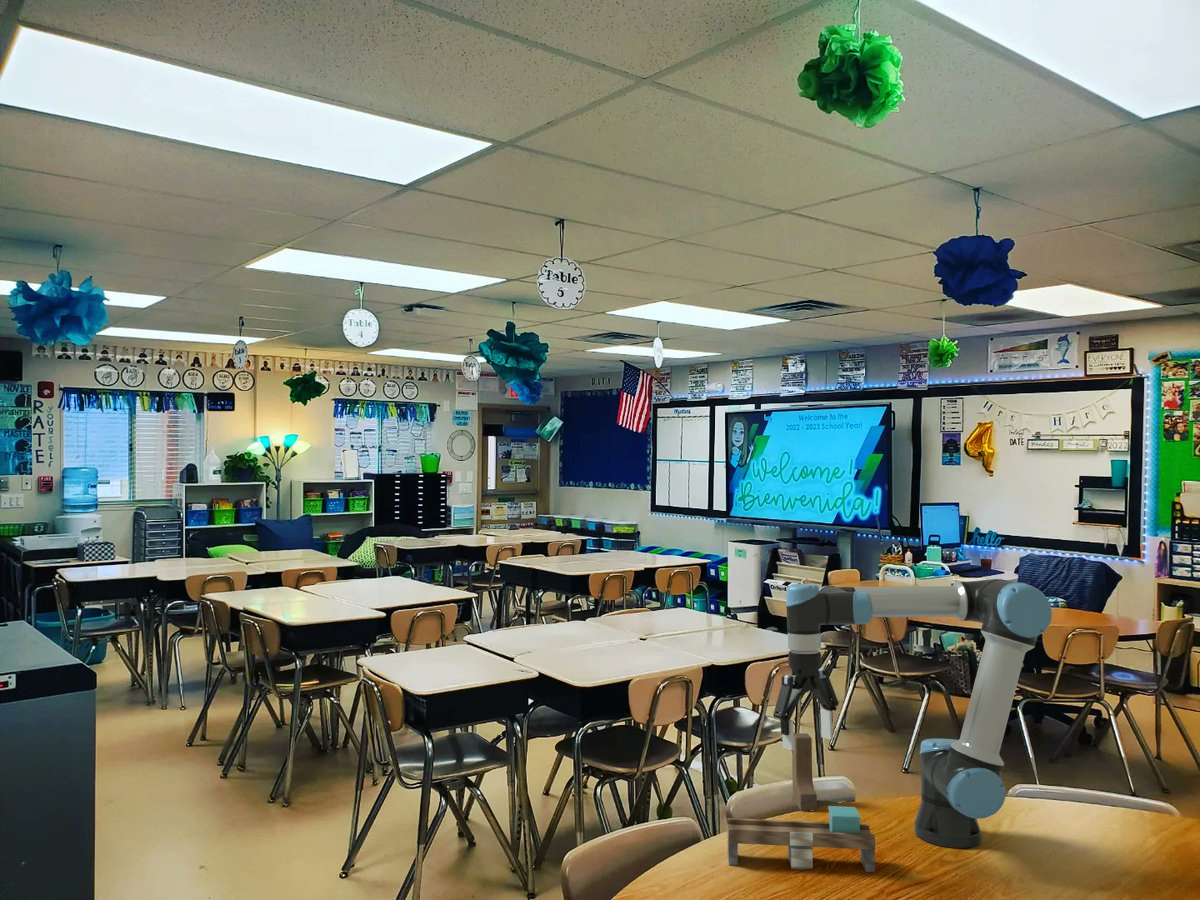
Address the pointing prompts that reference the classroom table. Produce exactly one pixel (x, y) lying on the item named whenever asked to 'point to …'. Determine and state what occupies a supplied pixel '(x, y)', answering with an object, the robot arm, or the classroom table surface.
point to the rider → (844, 819)
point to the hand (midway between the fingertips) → (808, 743)
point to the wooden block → (803, 773)
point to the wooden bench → (798, 839)
